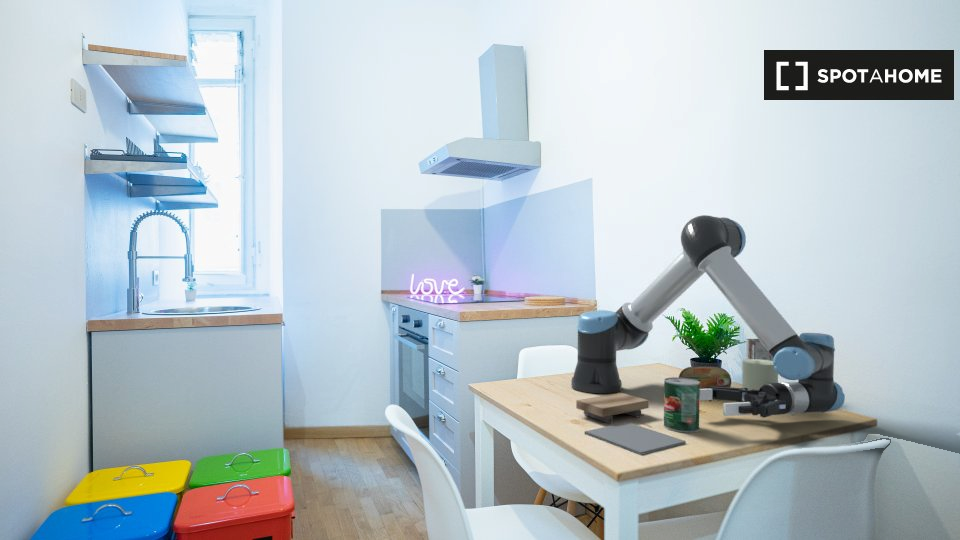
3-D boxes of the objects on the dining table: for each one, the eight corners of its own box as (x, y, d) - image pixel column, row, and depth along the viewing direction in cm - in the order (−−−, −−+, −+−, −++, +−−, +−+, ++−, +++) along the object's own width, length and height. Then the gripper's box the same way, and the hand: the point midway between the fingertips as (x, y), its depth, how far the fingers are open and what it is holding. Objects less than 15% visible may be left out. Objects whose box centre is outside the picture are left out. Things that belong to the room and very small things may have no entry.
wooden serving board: (576, 416, 138) (576, 400, 138) (621, 407, 146) (621, 392, 146) (602, 425, 130) (602, 408, 130) (648, 416, 139) (648, 400, 139)
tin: (680, 396, 161) (681, 367, 161) (676, 393, 164) (677, 365, 164) (731, 396, 161) (732, 367, 161) (726, 393, 165) (727, 365, 164)
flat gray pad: (584, 433, 124) (584, 431, 124) (628, 424, 131) (628, 422, 131) (640, 454, 110) (640, 452, 110) (685, 443, 118) (685, 440, 118)
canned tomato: (706, 429, 128) (707, 381, 128) (686, 434, 124) (686, 385, 124) (676, 420, 135) (677, 376, 135) (656, 426, 130) (657, 379, 130)
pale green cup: (736, 403, 154) (737, 359, 153) (747, 397, 160) (748, 356, 160) (772, 409, 147) (773, 364, 147) (782, 403, 154) (783, 360, 154)
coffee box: (777, 398, 160) (778, 342, 159) (753, 396, 161) (754, 341, 161) (767, 391, 169) (768, 338, 168) (745, 390, 170) (746, 337, 170)
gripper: (824, 428, 123) (741, 434, 118) (746, 401, 147) (675, 404, 142) (824, 395, 123) (742, 399, 118) (746, 373, 147) (675, 375, 142)
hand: (705, 402), depth 130 cm, fingers open, 13 cm apart
